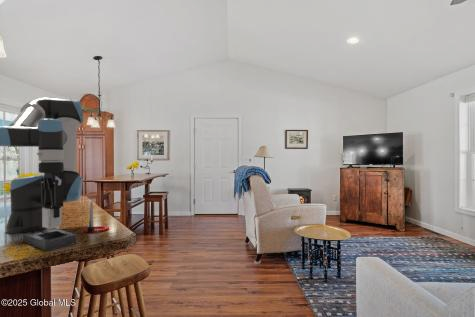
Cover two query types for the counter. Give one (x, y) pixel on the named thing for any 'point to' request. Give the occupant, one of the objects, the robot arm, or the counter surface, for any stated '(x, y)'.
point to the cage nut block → (49, 217)
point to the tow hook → (91, 228)
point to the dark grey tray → (50, 238)
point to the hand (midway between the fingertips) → (52, 225)
